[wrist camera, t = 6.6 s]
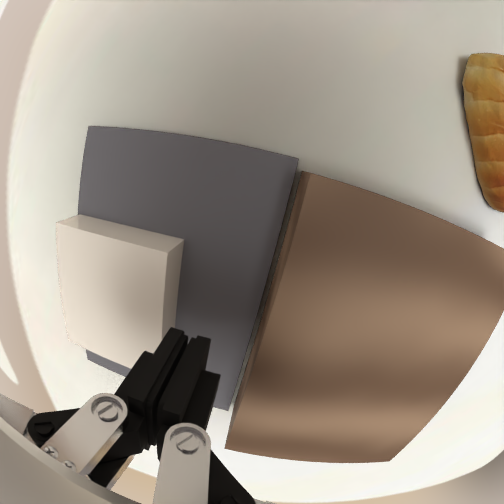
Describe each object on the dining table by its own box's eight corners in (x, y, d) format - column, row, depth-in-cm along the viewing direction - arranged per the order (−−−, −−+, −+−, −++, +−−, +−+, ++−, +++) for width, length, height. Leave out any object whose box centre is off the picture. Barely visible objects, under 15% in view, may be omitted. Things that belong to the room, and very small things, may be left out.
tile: (167, 252, 12) (184, 239, 14) (55, 222, 12) (79, 214, 14) (161, 379, 14) (172, 357, 16) (68, 340, 14) (85, 324, 17)
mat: (91, 126, 13) (88, 125, 12) (298, 158, 12) (298, 158, 12) (89, 357, 18) (87, 359, 18) (228, 407, 18) (228, 410, 17)
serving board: (302, 170, 12) (311, 173, 9) (483, 238, 12) (524, 260, 8) (234, 404, 18) (224, 448, 14) (379, 423, 17) (389, 461, 13)
